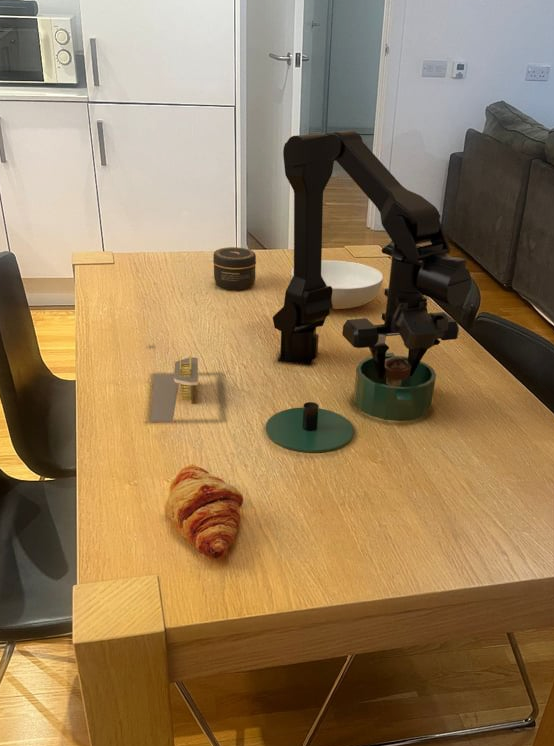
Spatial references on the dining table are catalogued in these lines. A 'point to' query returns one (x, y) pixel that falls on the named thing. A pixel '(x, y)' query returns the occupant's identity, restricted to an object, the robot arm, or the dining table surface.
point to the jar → (234, 268)
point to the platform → (173, 389)
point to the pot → (394, 392)
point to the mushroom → (396, 370)
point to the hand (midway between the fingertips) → (395, 376)
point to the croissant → (204, 510)
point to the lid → (309, 429)
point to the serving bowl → (350, 282)
